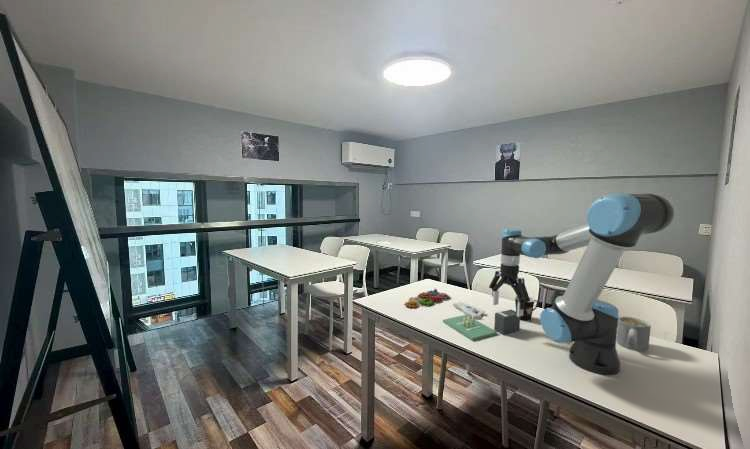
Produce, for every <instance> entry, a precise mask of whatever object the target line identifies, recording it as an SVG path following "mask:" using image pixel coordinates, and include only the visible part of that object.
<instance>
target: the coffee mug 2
mask: <svg viewBox="0 0 750 449" xmlns="http://www.w3.org/2000/svg"><path fill="white" fill-rule="evenodd" d="M618 317H619V319H618V326H617V337H616V344H618V345H619V346H620V347H622V348H625V349H627V350H631V351H634V352H640V353H641V352H648V351H649V348H650V346H649V345H650V339H651V338H650V337H651V329H652V328H651V326H652V325H651V324H650V322H648V321H646V320H643V319H641V318H636V317H631V316H618Z"/></svg>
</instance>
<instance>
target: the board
mask: <svg viewBox="0 0 750 449" xmlns="http://www.w3.org/2000/svg"><path fill="white" fill-rule="evenodd" d="M474 317H475V316H472V317H469V316H467V315H465V314H464V315H458V316H455V317H450V318H444V319H442V323H444V324H445V325H447V327H449V328H451V329H453V330H454V331H456V332H458V333H459V334H461V335H463V337H466V338H467V339H468V340H470V341H473V342H474V341H476V340H481V339H484V338H489V337H492V336H496V335H498V332H497V331H495V330H494V328H491V327H489V326H487V325H486V324H483V323H482V322H480V321H478V320H477V319H474Z"/></svg>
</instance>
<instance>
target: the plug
mask: <svg viewBox="0 0 750 449" xmlns="http://www.w3.org/2000/svg"><path fill="white" fill-rule="evenodd" d="M520 324H521V320H520V316H519V317H518V316H517V312H516V310H513V309H508V310H504V311H499V312H498V311H497V312H495V313H494V328H493V330H495V331H497V333H499V334H501V335H503V336H504V335H508V334H512V333H515V332H518V331H520V328H521V327H520V326H521V325H520Z"/></svg>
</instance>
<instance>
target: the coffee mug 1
mask: <svg viewBox="0 0 750 449" xmlns="http://www.w3.org/2000/svg"><path fill="white" fill-rule="evenodd" d="M529 299H530V301H529V302H525V309H523V316H520V321H521V322H530V321H531V320H532V316H533V312H534V311H535V310H536V309H537V308H538V306H540V303H539V301H538V300H535V299H534V298H533V297H530V296H529ZM514 300H515V303H514V304H515V311H516V312H517V308H518V301H519V299H518V297H517V295H516V296H515V297H514ZM535 302H536V304H537V305H536V306H535ZM534 306H535V307H534Z"/></svg>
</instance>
